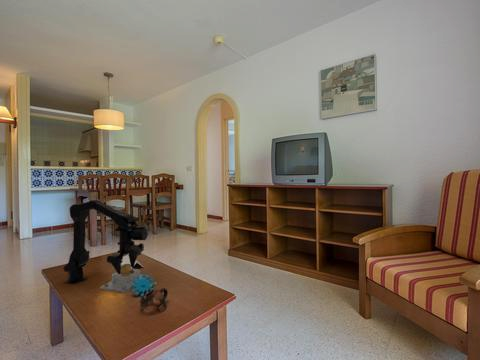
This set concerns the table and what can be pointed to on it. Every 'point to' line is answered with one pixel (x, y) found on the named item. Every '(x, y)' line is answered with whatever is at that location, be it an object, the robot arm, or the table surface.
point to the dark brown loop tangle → (157, 295)
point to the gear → (143, 285)
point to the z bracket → (128, 261)
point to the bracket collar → (122, 281)
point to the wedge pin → (125, 268)
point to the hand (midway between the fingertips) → (125, 270)
